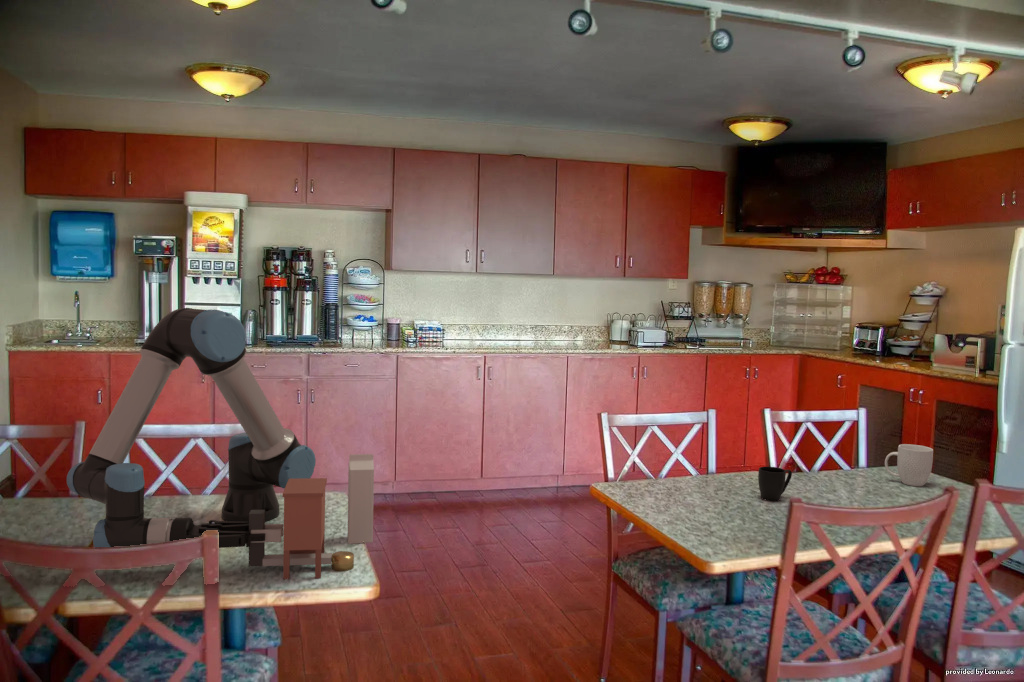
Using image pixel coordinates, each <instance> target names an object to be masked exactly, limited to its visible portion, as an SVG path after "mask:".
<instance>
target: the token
mask: <svg viewBox="0 0 1024 682" xmlns="http://www.w3.org/2000/svg"><path fill="white" fill-rule="evenodd" d="M354 566H355V554H354V553H353V552H352V551H345V550H342V551H337V552H333V553H332V562H331V570H333V571H335V572H347V571H351V570H353V569H354V568H355V567H354Z"/></svg>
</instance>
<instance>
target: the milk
mask: <svg viewBox="0 0 1024 682" xmlns="http://www.w3.org/2000/svg"><path fill="white" fill-rule="evenodd" d="M348 457H349V461H348V473H347V474H348V477H347V478H348V480H347V483H348V485H347V486H348V487H347V491H348V492H347V541H348V544H349V545H351V544H355V545H356V544H371V543H373V542H374V541H373V540H374V536H373V535H374V493H375V492H374V491H375V490H374V489H375V487H374V486H375V468H374V467H375V466H374V454H373V453H370V454H369V453H365V454H363V453H361V454H349V455H348ZM363 541H364V543H363Z"/></svg>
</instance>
